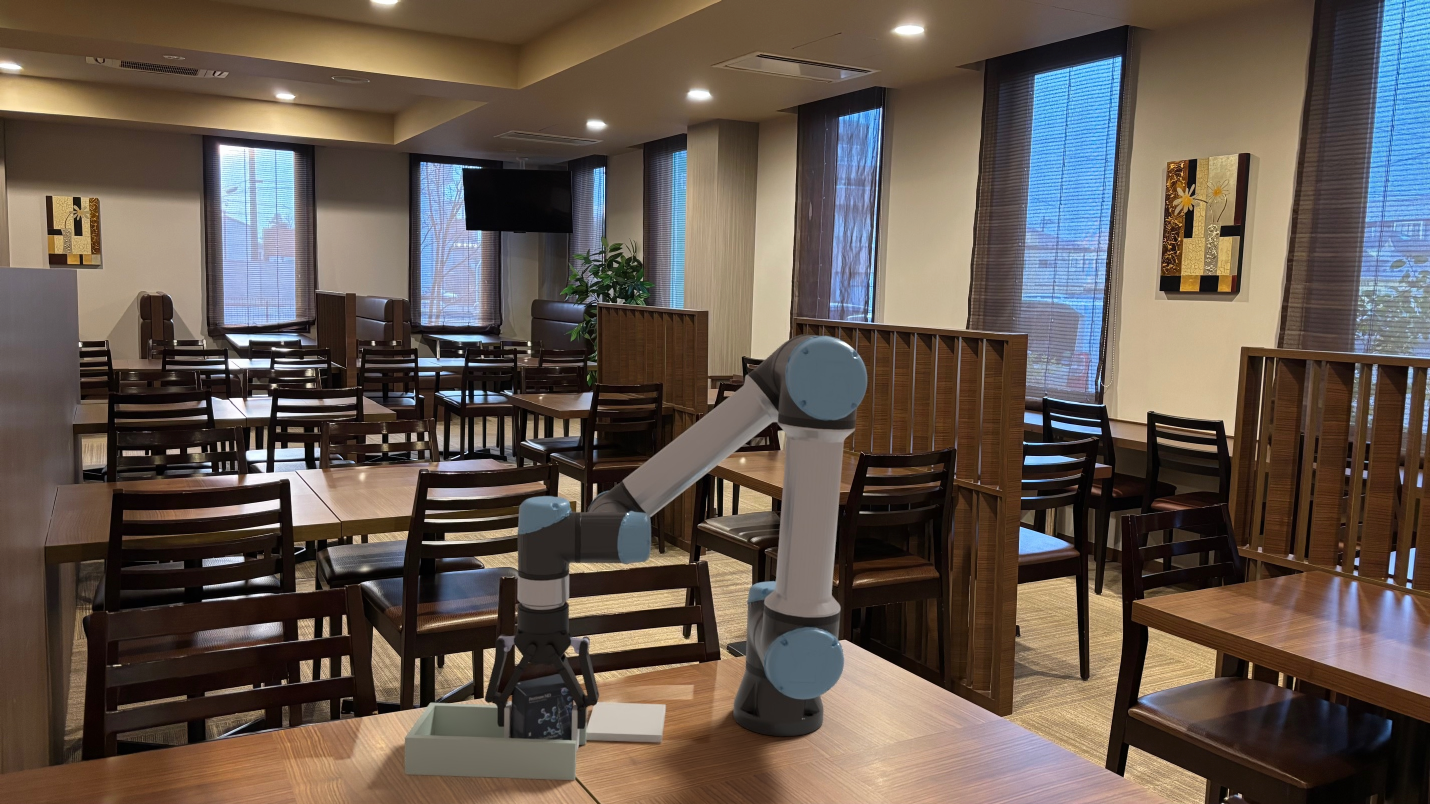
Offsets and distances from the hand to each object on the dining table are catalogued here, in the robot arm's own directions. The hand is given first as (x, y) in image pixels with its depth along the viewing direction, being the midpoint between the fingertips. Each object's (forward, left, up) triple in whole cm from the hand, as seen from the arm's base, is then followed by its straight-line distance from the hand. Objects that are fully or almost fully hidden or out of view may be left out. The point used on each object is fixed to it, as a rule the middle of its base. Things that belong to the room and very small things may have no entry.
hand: (541, 747), depth 148 cm
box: (0, 0, -1) cm, 1 cm away
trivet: (-12, -13, -2) cm, 18 cm away
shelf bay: (+6, 0, -2) cm, 7 cm away
